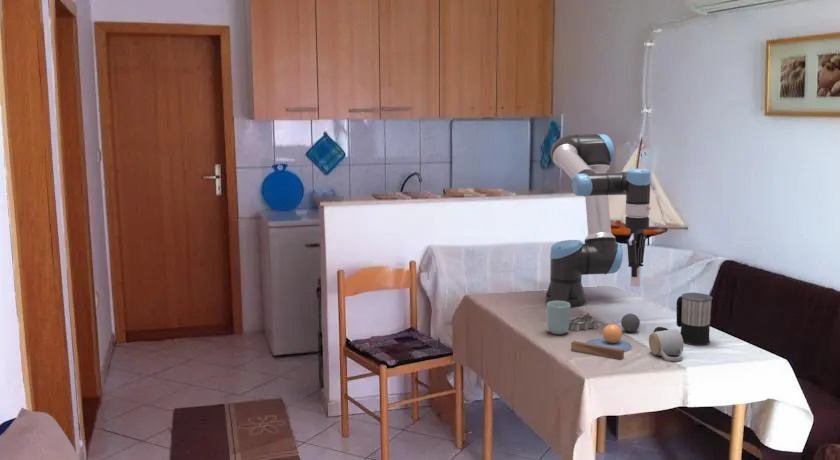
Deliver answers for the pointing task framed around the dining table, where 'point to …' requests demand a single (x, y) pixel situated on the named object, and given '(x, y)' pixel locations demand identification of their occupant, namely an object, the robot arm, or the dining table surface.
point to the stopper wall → (597, 350)
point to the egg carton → (583, 322)
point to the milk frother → (693, 318)
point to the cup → (558, 316)
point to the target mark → (611, 344)
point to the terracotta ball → (612, 333)
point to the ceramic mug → (667, 344)
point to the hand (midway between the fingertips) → (635, 285)
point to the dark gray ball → (630, 322)
